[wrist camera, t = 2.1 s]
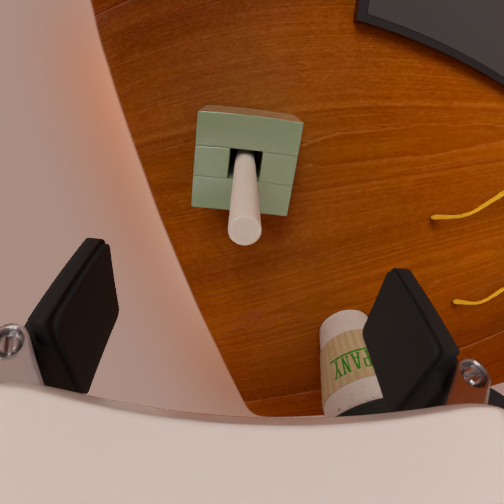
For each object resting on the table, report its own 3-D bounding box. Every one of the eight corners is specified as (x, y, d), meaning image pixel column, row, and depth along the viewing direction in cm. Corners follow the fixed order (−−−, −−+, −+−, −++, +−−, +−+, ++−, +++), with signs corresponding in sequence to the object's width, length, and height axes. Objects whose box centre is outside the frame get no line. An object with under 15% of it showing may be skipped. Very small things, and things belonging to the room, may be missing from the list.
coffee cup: (397, 315, 35) (443, 418, 23) (345, 362, 40) (370, 462, 27) (341, 284, 33) (384, 406, 20) (287, 340, 37) (301, 456, 24)
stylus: (237, 140, 25) (229, 214, 13) (254, 142, 25) (263, 217, 13) (235, 157, 25) (226, 244, 14) (252, 158, 26) (259, 247, 14)
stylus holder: (205, 104, 23) (197, 110, 19) (294, 114, 24) (304, 122, 20) (199, 185, 27) (191, 206, 23) (280, 193, 27) (286, 216, 23)
